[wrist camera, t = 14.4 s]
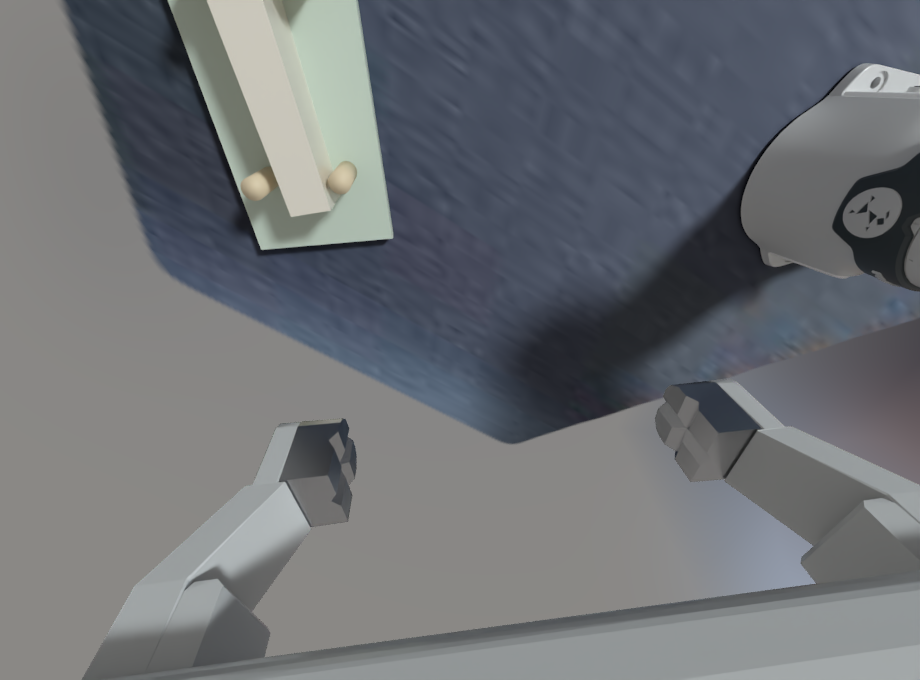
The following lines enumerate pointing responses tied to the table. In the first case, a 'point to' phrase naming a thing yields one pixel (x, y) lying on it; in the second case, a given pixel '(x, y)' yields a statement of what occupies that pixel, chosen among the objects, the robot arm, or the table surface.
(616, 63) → the table surface
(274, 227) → the rack
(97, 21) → the table surface
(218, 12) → the off-white rectangular block
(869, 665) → the robot arm
